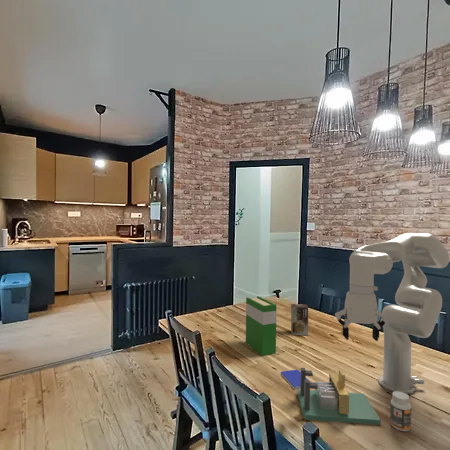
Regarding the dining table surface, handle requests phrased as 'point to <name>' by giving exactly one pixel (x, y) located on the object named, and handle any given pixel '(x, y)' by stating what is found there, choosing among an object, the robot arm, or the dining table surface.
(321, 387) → the heatsink
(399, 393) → the pill bottle
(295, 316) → the coffee box
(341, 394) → the tan notched block
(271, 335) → the hardback book
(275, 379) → the dining table surface
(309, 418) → the board
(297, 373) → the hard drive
